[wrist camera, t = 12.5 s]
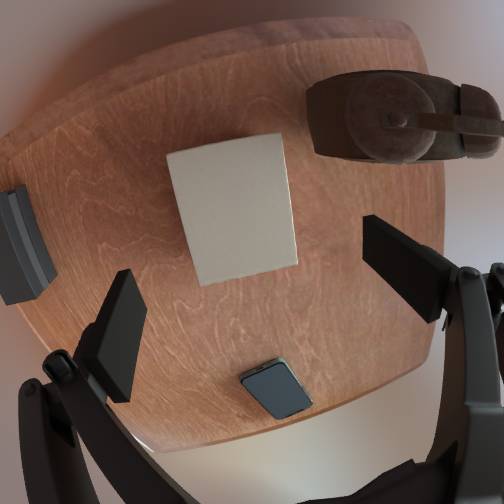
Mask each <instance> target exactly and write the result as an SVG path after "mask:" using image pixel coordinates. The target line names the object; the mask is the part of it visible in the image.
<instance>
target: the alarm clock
mask: <svg viewBox="0 0 504 504" xmlns="http://www.w3.org/2000/svg"><path fill="white" fill-rule="evenodd" d="M306 101H307V102H306V103H307V118H308V125H309V130H310V133H311V137H312V141H313V145H314V150H315V153H317V154H319V155H323V156H329V157H337V158H341V159H345V160H350V161H358V162H370V163H388V164H399V165H401V164H416V163H433V162H440V161H444V160H449V159H458V158H462V157H465V156H467V158H469V159H484V158H489V157H491V156H493V155H494V154H495V153H496V152H497V151H498V149H499V148H500V145H501V141H502V137H504V121H502V120H501V113H500V110H499V107H498V105H497V103H496V101H495V99H494V98H493V97H492V96H491V95H490V94H489V93H488V92H487V91H485V90H483V89H481V88H479V87H475V86H471V85H467V84H462V85H461V87H459V86H457V85H454V84H453V83H452V82H451V81H450V80H447V79H444V78H440V77H436V76H431V75H425V74H421V73H416V72H410V71H400V70H370V71H358V72H351V73H345V74H340V75H336V76H333V77H330V78H328V79H325V80H322V81H319V82H316V83H315V84H314V85H313V87H310V88H308V89H306Z"/></svg>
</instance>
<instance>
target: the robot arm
mask: <svg viewBox="0 0 504 504" xmlns="http://www.w3.org/2000/svg"><path fill="white" fill-rule="evenodd" d="M362 259H363V260H364V261H365V262H366V263H367V264H368V265H369V266H370V267H371V268H373V269H374V270H375V271H376V272H377V273H378V274H379V275H380V276H381V277H382V278H383V279H384V280H385V281H386V282H387V283H388V284H389V285H390V286H391V287H392V288H393V289H394V290H395V291H396V292H397V293H398V294H399V295H400V296H401V297H402V298H403V299H404V300H405V301H406V302H407V303H408V304H409V305H410V306H411V307H412V308H413V309H414V310H415V311H416V312H417V313H418V314H419V315H420V316H421V317H422V318H423V319H424V320H425V321H426V322H427V324H429V323H431V322H433V321H435V320H437V319H439V318H440V315H441V312H442V308H444V309H445V310H446V311H447V315H446V318H445V322H444V325H443V328H442V331H444V328H445V329H446V330H445V331H446V332H445V360H444V374H443V385H442V394H441V403H440V409H439V416H438V422H437V427H436V433H435V438H434V442H433V445H432V448H431V450H430V452H429V454H428V456H427V459H426V461H425V462H420V463H414V461H413V459H410V460H408V461H406V462H404V463H402V464H401V465H399V466H397V467H395V468H393V469H391V470H388V471H386V472H384V473H382V474H381V475H380V476H378V477H377V478H375V479H374V480H373V481H371V482H370V483H368V484H367V485H366V486H364V487H363V488H361V489H360V490H358V491H357V492H355V493H354V494H352V495H349V496H344V497H336V498H327V499H317V500H308V501H305V502H301V503H297V504H504V407H502V406H501V401H500V376H499V371H500V374H501V377H502V380H503V384H504V312H503V310H502V306H503V303H504V264H503V263H494V264H492V265H491V269H490V273H486V274H481V273H480V272H479V271H478V270H477V269H475V268H472V267H461V268H459V267H457V266H456V265H454V264H453V263H452V262H450V261H449V260H448V259H446V258H445V257H443V256H442V255H440V254H439V253H437V252H436V251H435V250H433V249H432V248H430V247H427V246H424V245H420V244H419V243H418V242H416V241H415V240H413V239H412V238H410V237H409V236H407V235H405V234H404V233H402V232H401V231H399V230H398V229H396V228H395V227H393V226H391V225H390V224H388V223H387V222H385V221H384V220H382V219H380V218H379V217H377V216H375V215H374V214H373V215H368V216H363V256H362ZM146 313H147V307H146V305H145V303H144V300H143V298H142V296H141V293H140V291H139V289H138V286H137V284H136V281H135V279H134V276H133V274H132V271H131V269H126V270H121V271H118V272H117V275H116V277H115V279H114V281H113V283H112V285H111V287H110V289H109V291H108V293H107V296H106V298H105V300H104V302H103V304H102V307H101V309H100V311H99V314H98V316H97V318H96V321H95V322H94V323H90V324H89V325H88V326H87V327H86V329H85V330H84V331H83V333H82V336H81V340H79V343H78V346H77V348H76V350H75V353H74V355H73V358H71V356H70V355H69V353H68V352H67V351H66V350H63V349H60V350H56V351H54V352H52V353H50V355H48V356H47V357H46V359H45V360H44V362H43V365H42V368H43V371H44V372H45V373H46V374H47V375H48V377H49V378H50V379H51V381H52V382H51V383H48V384H45V385H42V384H41V382H40V381H39V380H38V379H36V378H32V379H29V380H27V381H25V382H24V383H23V384H22V386H21V388H20V390H19V395H18V416H19V439H20V450H21V460H22V468H23V474H24V480H25V486H26V491H27V496H28V501H29V504H100V502H99V500H98V498H97V495H96V492H95V490H94V487H93V484H92V481H91V479H90V476H89V473H88V470H87V467H86V463H85V460H84V457H83V453H82V450H81V446H80V442H79V439H78V435H77V432H78V434H79V435H80V437H81V438H82V441H83V442H84V444H85V446H86V447H87V449H88V451H89V452H90V454H91V456H92V457H93V459H94V460H95V462H96V463H97V465H98V466H99V468H100V469H101V471H102V472H103V474H104V475H105V477H106V478H107V480H108V481H109V482H110V484H111V485H112V486H113V488H114V489H115V490H116V491H117V493H118V494H119V496H120V497H121V498H122V499H123V501H124V502H125V503H126V504H200V503H199V502H198V501H197V500H196V499H194V498H193V497H192V496H191V495H190V494H188V492H186V491H185V490H184V489H183V488H182V487H181V486H180V485H179V484H177V482H176V481H174V480H173V479H172V478H171V477H170V476H169V475H168V474H167V473H166V472H165V471H164V470H163V469H162V468H161V467H160V466H159V465H158V464H157V463H156V462H155V460H154V459H153V458H152V457H151V456H150V455H149V454H148V453H147V452H146V451H145V450H144V449H143V447H142V446H141V445H140V444H139V443H138V442H137V440H136V439H135V438H134V437H133V436H132V434H131V433H130V432H129V431H128V430H127V428H126V427H125V426H124V425H123V423H122V422H121V421H120V420H119V418H118V417H117V416H116V414H115V413H114V412H113V410H112V409H111V408H110V406H109V405H108V404H107V403H106V400H107V396H109V397H110V398H111V400H112V401H113V402H114V403H125V402H130V398H131V391H132V385H133V379H134V373H135V367H136V362H137V356H138V351H139V346H140V341H141V336H142V331H143V326H144V322H145V317H146ZM76 430H77V431H76Z"/></svg>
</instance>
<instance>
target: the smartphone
mask: <svg viewBox="0 0 504 504" xmlns="http://www.w3.org/2000/svg"><path fill="white" fill-rule="evenodd" d="M240 382H241V384H242V385H243V386H244V387H245V388H246V389H247V390H248V391H249V392H250V393H251V394H252V396H253V397H254V398H255V399H256V400H257V401H258V402H259V403H260V404H261V405H262V406H263V407H264V408H265V409H266V410H267V411H268V412H269V413H270V414H271V415H272V416H273V417H274V418H275V419H277V420H281V419H284V418H287V417H289V416H292V415H294V414H296V413H299V412H301V411H303V410H305V409H307V408H309V407H311V406H312V404H313V402H312V399H311V398H310V397H309V395H308V393H307V392H306V390H305V389H304V388H303V386H302V385H301V384H300V382H299V381H298V380H297V378H296V377H295V375H294V374H293V372H292V371H291V369H290V368H289V366H288V365H287V363H286V362H285V361H284V360H283V359H282V358H278V359H275V360H273V361H270V362H268V363H266V364H264V365H262V366H260V367H257V368H255V369H253V370H251V371H249V372H246V373H244V374H242V375H241V376H240Z"/></svg>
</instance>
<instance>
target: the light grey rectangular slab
mask: <svg viewBox="0 0 504 504" xmlns="http://www.w3.org/2000/svg"><path fill="white" fill-rule="evenodd" d="M166 159H167V164H168V168H169V172H170V177H171V181H172V185H173V189H174V193H175V197H176V201H177V205H178V209H179V213H180V217H181V221H182V225H183V228H184V232H185V236H186V239H187V243H188V247H189V250H190V254H191V257H192V261H193V264H194V268H195V271H196V275H197V278H198V281H199V285H200V286H204V285H208V284H213V283H217V282H222V281H227V280H231V279H235V278H240V277H244V276H249V275H253V274H258V273H262V272H266V271H271V270H275V269H279V268H283V267H288V266H292V265H296V264H298V262H297V253H296V243H295V234H294V226H293V217H292V209H291V201H290V194H289V186H288V179H287V172H286V165H285V158H284V151H283V144H282V138H281V133H280V132H274V133H267V134H260V135H254V136H248V137H242V138H237V139H231V140H226V141H221V142H216V143H211V144H207V145H202V146H197V147H193V148H189V149H185V150H180V151H176V152H172V153H168V154H167V155H166Z"/></svg>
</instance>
